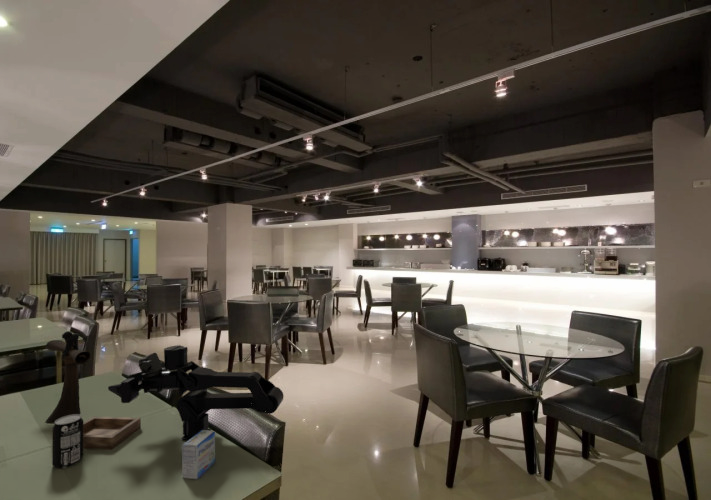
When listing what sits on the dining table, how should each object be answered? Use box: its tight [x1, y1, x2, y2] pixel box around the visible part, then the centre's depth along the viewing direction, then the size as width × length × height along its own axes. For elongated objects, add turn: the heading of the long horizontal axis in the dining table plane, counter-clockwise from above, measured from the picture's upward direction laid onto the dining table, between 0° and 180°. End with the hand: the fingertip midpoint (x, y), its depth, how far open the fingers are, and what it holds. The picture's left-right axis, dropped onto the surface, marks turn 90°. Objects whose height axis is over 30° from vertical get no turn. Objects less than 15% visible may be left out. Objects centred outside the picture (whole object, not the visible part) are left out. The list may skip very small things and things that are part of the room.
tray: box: [83, 416, 142, 451], centre depth 109 cm, size 16×12×4 cm
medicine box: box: [181, 430, 216, 480], centre depth 93 cm, size 8×4×9 cm, turn 168°
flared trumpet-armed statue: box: [45, 330, 91, 424], centre depth 124 cm, size 32×10×30 cm, turn 55°
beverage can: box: [51, 413, 84, 469], centre depth 96 cm, size 7×7×12 cm
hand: (119, 382), depth 112 cm, fingers open, 9 cm apart
